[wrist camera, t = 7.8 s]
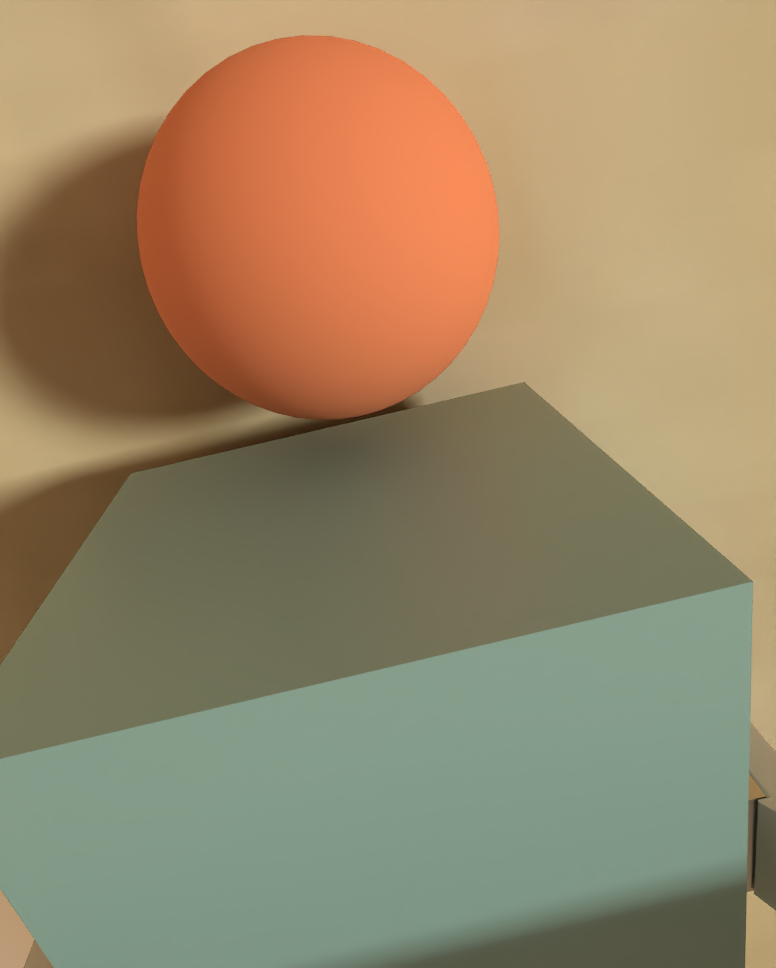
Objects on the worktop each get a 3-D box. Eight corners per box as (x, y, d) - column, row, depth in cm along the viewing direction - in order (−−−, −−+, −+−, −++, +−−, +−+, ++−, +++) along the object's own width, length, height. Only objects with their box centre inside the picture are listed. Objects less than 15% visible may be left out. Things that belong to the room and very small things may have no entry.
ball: (479, 343, 13) (565, 426, 8) (226, 397, 13) (171, 509, 8) (438, 42, 11) (521, -69, 6) (136, 106, 11) (0, 42, 6)
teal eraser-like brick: (576, 788, 16) (741, 1162, 10) (284, 858, 16) (264, 1277, 9) (523, 382, 12) (752, 581, 6) (130, 473, 11) (-77, 776, 5)
